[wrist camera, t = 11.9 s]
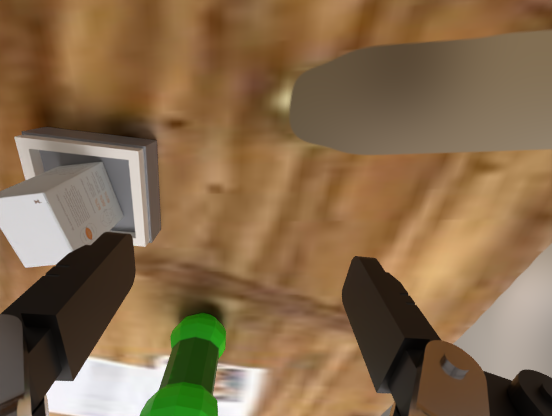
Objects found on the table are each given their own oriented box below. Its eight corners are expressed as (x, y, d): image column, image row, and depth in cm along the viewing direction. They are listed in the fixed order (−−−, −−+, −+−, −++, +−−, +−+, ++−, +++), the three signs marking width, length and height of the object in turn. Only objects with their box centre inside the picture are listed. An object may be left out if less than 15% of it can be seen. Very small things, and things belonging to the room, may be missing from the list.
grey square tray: (46, 126, 35) (10, 133, 30) (156, 140, 36) (140, 149, 31) (66, 220, 41) (39, 239, 36) (161, 229, 42) (147, 248, 37)
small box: (58, 165, 33) (-22, 197, 24) (104, 160, 33) (41, 190, 24) (84, 221, 37) (23, 270, 27) (125, 217, 37) (78, 263, 27)
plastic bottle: (236, 335, 53) (220, 521, 30) (186, 345, 53) (132, 537, 31) (221, 298, 49) (189, 482, 26) (166, 309, 49) (87, 501, 27)
